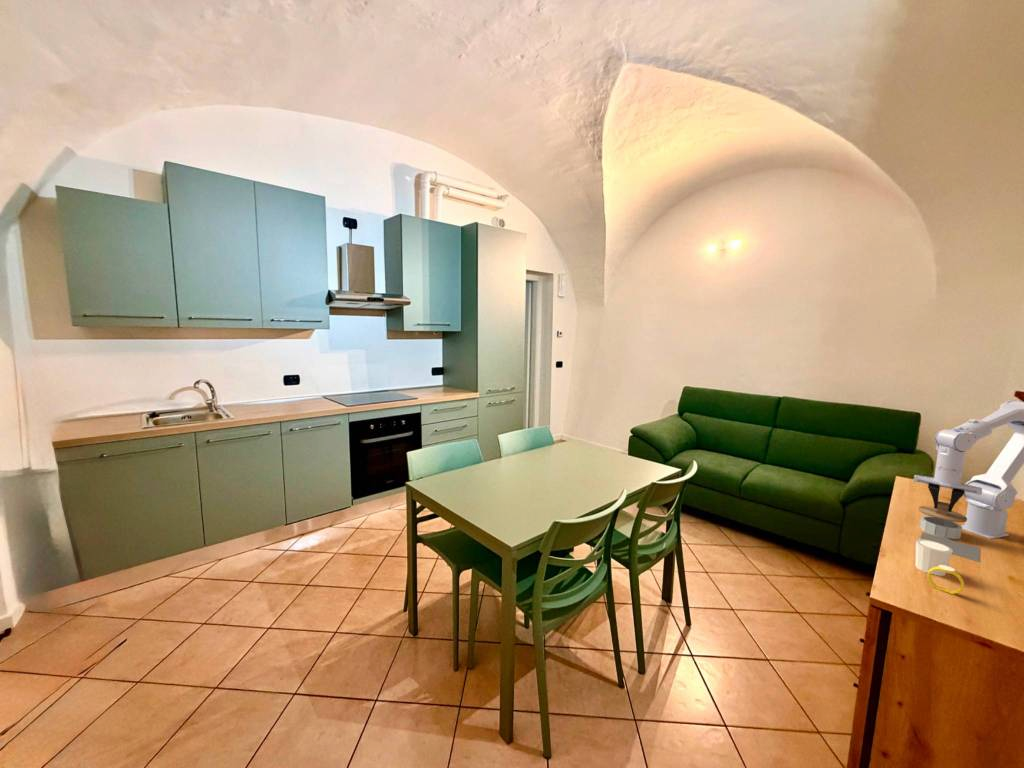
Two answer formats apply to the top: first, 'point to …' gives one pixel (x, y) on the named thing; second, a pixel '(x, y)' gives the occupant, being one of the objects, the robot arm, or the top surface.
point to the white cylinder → (932, 555)
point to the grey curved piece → (940, 527)
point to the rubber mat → (956, 547)
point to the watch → (947, 570)
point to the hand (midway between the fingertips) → (942, 509)
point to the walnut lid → (942, 512)
